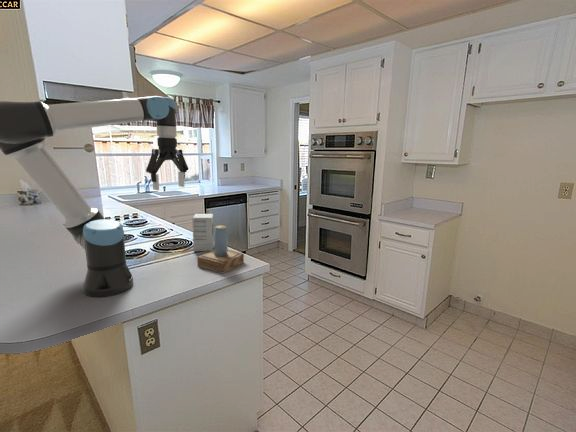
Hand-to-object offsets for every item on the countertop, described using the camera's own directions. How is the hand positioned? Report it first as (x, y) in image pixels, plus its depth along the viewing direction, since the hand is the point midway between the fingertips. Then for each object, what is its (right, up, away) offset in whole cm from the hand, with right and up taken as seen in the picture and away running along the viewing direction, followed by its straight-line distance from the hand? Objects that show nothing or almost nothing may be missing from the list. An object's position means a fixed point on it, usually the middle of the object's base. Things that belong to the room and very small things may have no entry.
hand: (169, 188), depth 129 cm
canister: (+22, -29, +1) cm, 36 cm away
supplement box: (+9, -28, +21) cm, 36 cm away
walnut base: (+22, -33, +2) cm, 40 cm away
